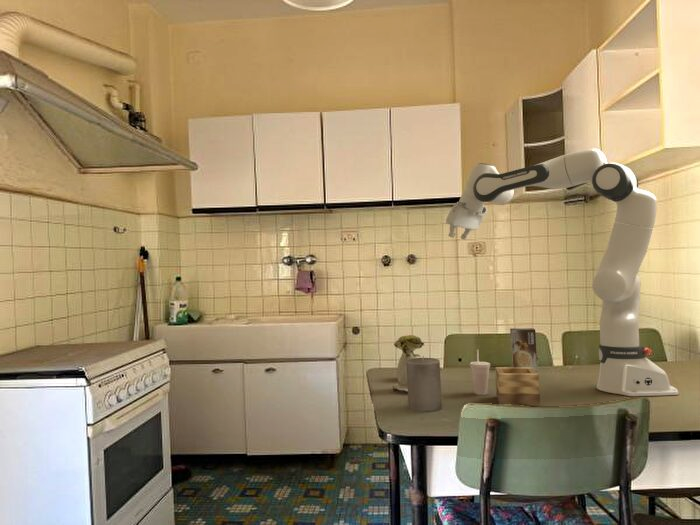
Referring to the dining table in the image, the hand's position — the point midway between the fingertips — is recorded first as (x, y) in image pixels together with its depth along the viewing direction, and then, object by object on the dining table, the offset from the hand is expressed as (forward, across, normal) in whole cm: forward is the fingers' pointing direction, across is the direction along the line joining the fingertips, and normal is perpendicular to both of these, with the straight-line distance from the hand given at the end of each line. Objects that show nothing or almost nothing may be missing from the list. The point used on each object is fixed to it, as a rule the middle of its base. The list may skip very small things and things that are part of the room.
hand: (457, 238), depth 201 cm
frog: (+48, -33, -24) cm, 63 cm away
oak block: (+30, -28, -53) cm, 67 cm away
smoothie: (+39, -25, -42) cm, 63 cm away
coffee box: (+39, +20, -38) cm, 58 cm away
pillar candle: (+42, -50, -38) cm, 76 cm away
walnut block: (+34, -28, -55) cm, 70 cm away
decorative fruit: (+52, -18, -15) cm, 57 cm away
